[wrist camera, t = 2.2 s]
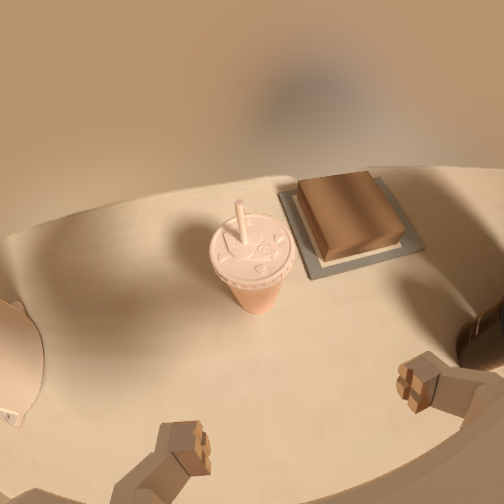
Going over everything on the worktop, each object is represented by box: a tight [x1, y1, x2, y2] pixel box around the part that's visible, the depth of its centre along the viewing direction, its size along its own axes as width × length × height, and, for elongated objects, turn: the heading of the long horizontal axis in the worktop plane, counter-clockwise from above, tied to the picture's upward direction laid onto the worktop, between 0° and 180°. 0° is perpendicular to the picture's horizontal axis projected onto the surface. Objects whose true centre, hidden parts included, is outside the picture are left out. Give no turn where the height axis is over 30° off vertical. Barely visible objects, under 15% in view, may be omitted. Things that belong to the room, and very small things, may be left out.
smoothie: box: [209, 199, 295, 314], centre depth 22 cm, size 6×6×14 cm
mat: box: [279, 177, 425, 280], centre depth 33 cm, size 16×13×1 cm
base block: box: [297, 171, 406, 263], centre depth 31 cm, size 10×10×3 cm
